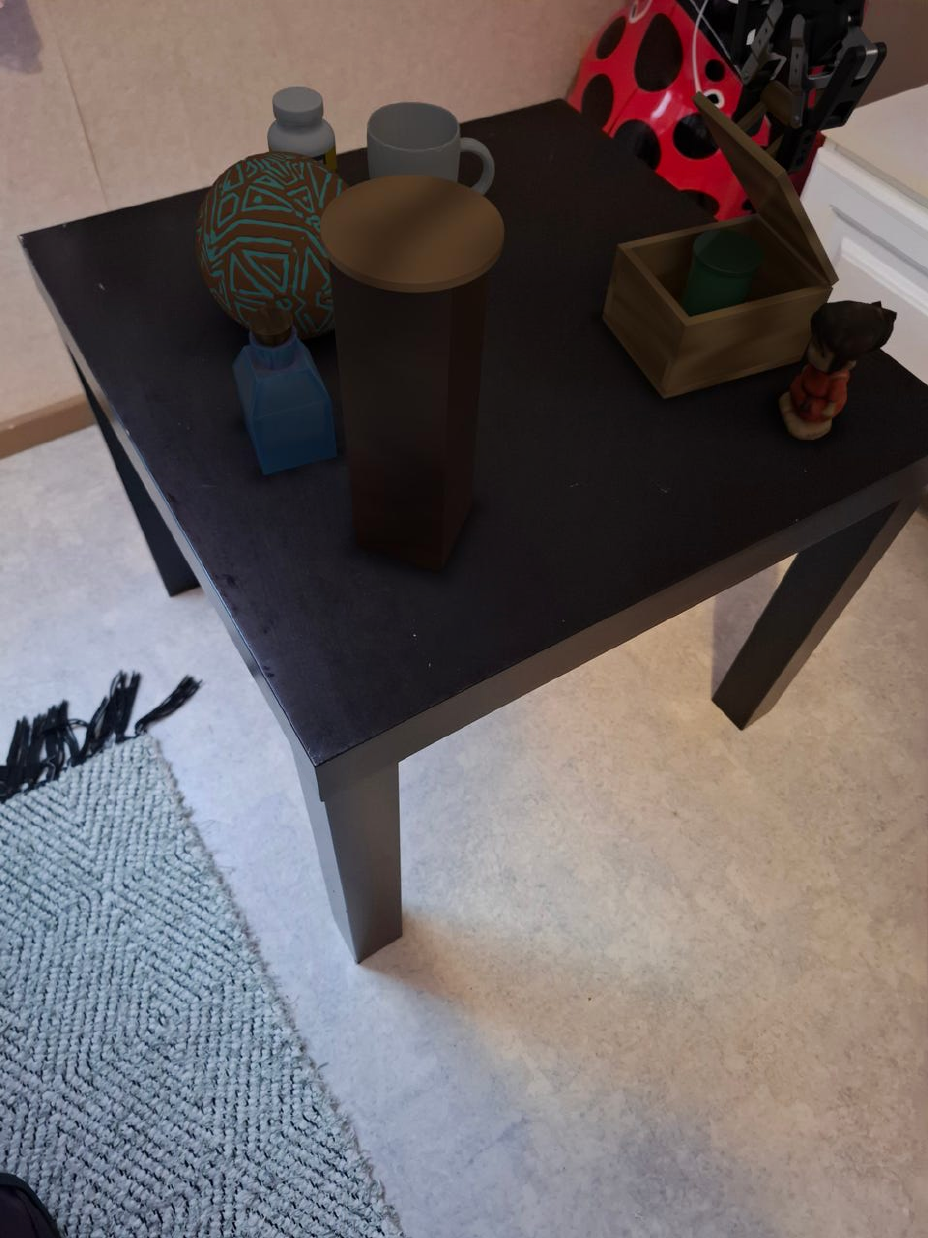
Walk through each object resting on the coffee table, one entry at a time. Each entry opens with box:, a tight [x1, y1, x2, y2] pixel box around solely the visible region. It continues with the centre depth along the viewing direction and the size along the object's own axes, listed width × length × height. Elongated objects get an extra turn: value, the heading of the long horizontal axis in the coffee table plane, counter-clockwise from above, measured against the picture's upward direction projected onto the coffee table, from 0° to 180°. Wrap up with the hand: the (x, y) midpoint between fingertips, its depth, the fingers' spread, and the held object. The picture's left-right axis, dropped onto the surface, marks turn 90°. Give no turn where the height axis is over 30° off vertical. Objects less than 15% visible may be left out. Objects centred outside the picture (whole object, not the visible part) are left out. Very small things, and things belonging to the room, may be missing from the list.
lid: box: [691, 80, 840, 287], centre depth 71 cm, size 16×12×5 cm
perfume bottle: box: [231, 307, 338, 476], centre depth 68 cm, size 6×6×12 cm
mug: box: [366, 101, 495, 197], centre depth 87 cm, size 13×9×10 cm
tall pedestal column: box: [320, 175, 505, 574], centre depth 58 cm, size 10×10×26 cm
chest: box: [601, 212, 834, 400], centre depth 80 cm, size 15×12×8 cm
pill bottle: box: [266, 86, 339, 175], centre depth 86 cm, size 6×6×12 cm
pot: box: [679, 230, 765, 317], centre depth 79 cm, size 6×6×8 cm
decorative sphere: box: [195, 151, 351, 341], centre depth 75 cm, size 15×15×15 cm
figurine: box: [778, 299, 898, 441], centre depth 73 cm, size 6×6×12 cm
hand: (764, 152), depth 68 cm, fingers closed on lid, 5 cm apart
